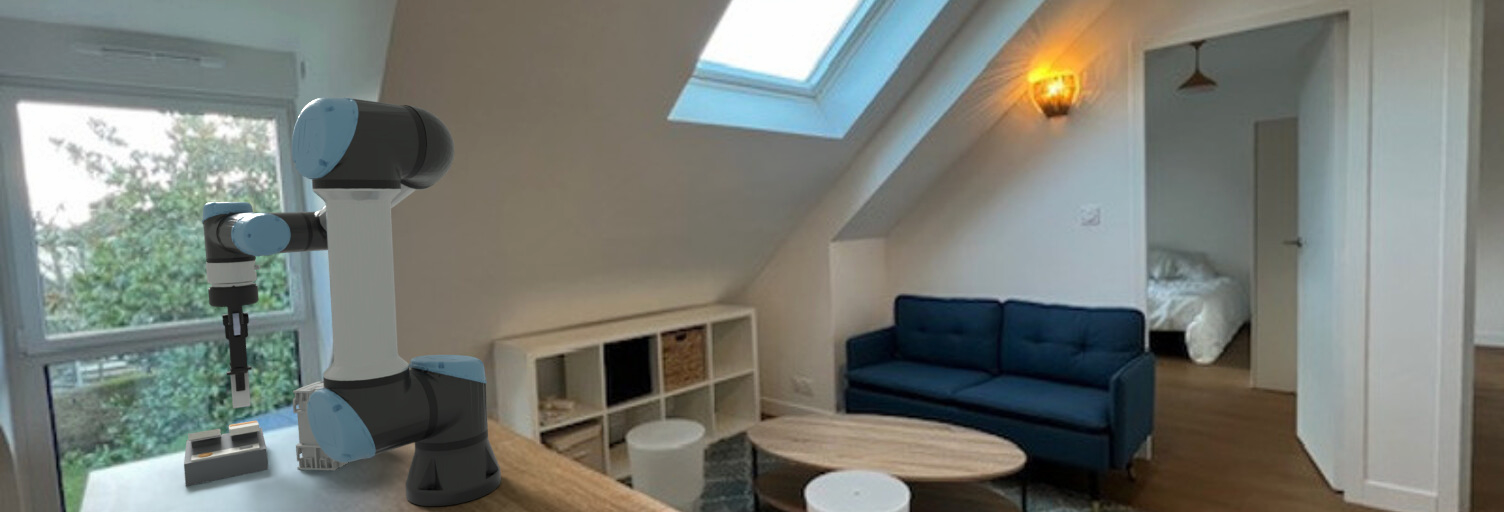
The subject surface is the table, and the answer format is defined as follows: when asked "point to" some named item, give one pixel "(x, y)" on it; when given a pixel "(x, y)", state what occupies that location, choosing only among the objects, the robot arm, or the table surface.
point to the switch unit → (224, 457)
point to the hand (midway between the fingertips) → (241, 406)
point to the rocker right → (243, 428)
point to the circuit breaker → (310, 434)
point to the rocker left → (204, 434)
